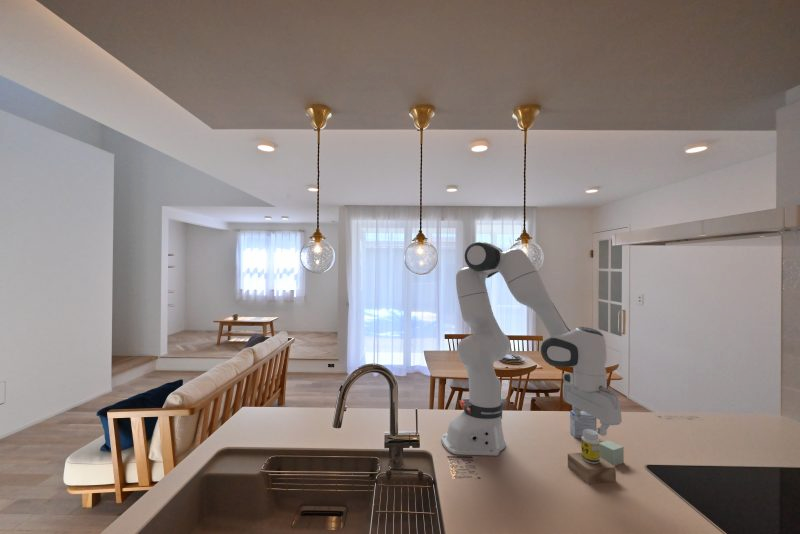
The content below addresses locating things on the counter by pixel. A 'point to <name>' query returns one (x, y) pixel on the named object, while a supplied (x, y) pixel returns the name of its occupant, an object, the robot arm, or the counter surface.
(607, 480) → the walnut block
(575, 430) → the medicine box
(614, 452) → the sage block
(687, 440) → the counter surface
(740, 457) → the counter surface
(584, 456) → the supplement bottle
